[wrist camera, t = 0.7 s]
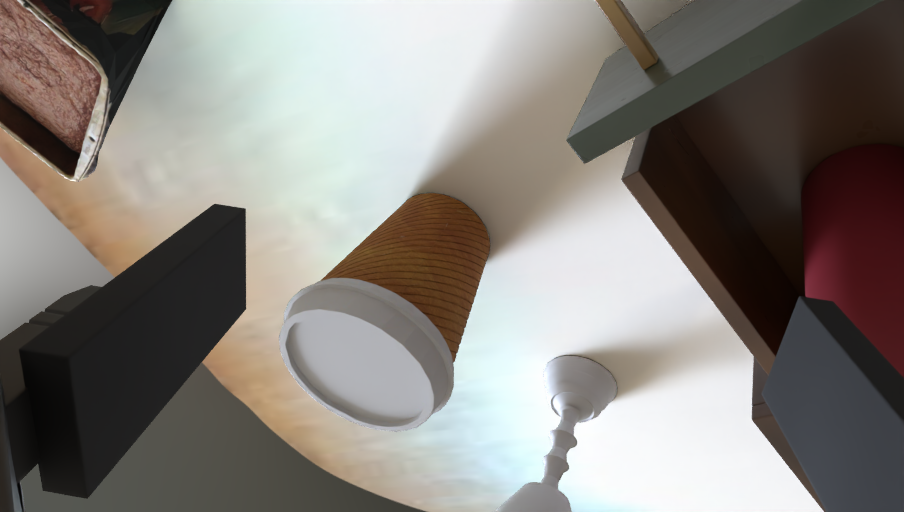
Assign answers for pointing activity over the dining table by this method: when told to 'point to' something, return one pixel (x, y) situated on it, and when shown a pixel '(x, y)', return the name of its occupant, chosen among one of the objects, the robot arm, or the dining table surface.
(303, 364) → the disposable coffee cup
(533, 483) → the chalice
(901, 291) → the candle
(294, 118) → the dining table surface
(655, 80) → the drawer
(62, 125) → the baking dish
